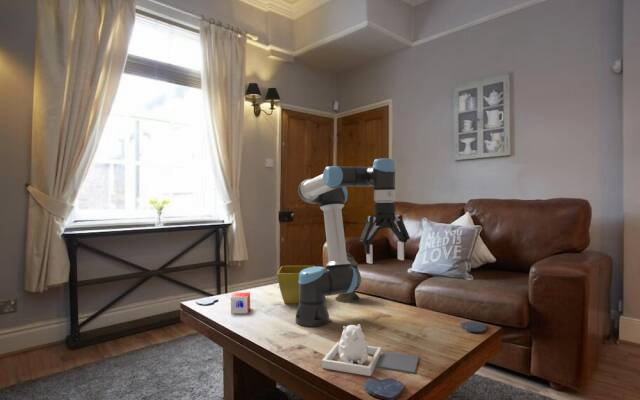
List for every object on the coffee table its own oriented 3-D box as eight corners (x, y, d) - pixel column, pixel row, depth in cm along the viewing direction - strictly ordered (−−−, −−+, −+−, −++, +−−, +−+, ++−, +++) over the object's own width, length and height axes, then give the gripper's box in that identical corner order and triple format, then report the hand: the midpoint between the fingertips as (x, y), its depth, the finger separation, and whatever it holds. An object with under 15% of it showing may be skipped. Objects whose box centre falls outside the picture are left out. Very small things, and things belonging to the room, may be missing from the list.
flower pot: (314, 305, 184) (314, 272, 184) (277, 305, 184) (276, 273, 184) (315, 295, 203) (315, 265, 203) (281, 295, 204) (281, 266, 203)
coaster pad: (376, 367, 116) (376, 365, 116) (383, 352, 128) (383, 350, 128) (414, 373, 112) (414, 371, 112) (418, 357, 123) (418, 355, 123)
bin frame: (322, 367, 117) (321, 360, 117) (337, 348, 132) (337, 341, 132) (370, 376, 111) (370, 368, 111) (381, 354, 126) (381, 347, 126)
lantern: (329, 298, 196) (329, 252, 196) (349, 294, 205) (348, 250, 205) (346, 304, 185) (346, 255, 185) (366, 299, 194) (366, 252, 194)
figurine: (336, 355, 126) (335, 321, 126) (364, 354, 127) (363, 320, 127) (340, 369, 116) (339, 331, 116) (370, 367, 117) (369, 330, 117)
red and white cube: (250, 308, 182) (250, 292, 182) (247, 313, 174) (247, 296, 174) (234, 308, 181) (234, 292, 181) (230, 313, 173) (230, 297, 173)
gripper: (360, 202, 120) (361, 266, 121) (419, 201, 131) (420, 259, 131) (349, 202, 127) (350, 262, 127) (405, 201, 138) (406, 256, 138)
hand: (385, 261), depth 129 cm, fingers open, 13 cm apart
